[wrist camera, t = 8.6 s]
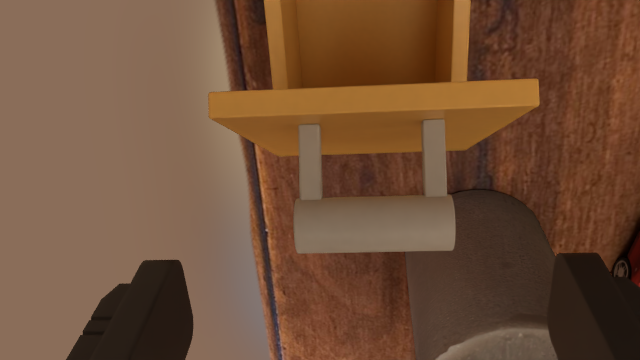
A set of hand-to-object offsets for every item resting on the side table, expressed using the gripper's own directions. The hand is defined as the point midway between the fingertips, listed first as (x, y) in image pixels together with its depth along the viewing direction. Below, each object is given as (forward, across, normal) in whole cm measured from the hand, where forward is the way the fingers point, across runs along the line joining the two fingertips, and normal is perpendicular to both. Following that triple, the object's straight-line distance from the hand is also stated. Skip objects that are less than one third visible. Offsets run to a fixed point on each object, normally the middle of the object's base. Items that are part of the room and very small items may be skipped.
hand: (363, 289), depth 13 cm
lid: (+12, 0, +1) cm, 12 cm away
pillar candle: (+25, -7, +17) cm, 31 cm away
